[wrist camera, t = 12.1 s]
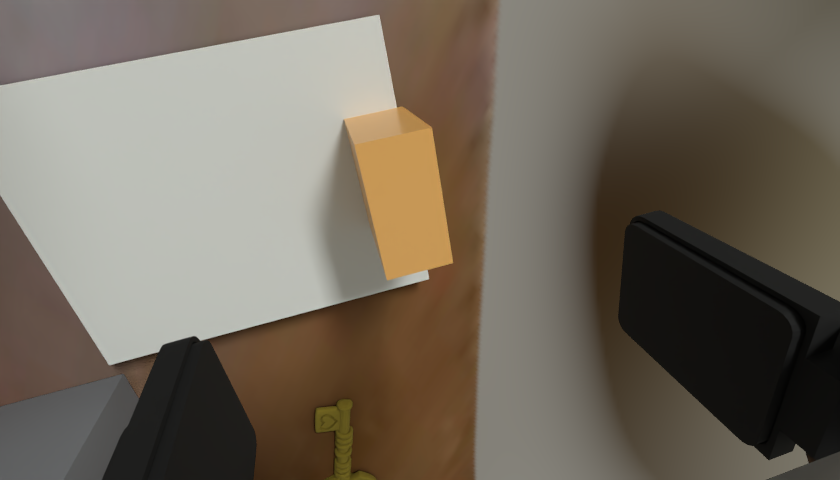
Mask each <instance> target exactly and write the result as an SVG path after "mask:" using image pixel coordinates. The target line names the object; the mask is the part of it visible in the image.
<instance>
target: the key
mask: <svg viewBox="0 0 840 480" xmlns="http://www.w3.org/2000/svg"><path fill="white" fill-rule="evenodd" d="M336 405H337V406H331V407H320V408H316V411H315V430H316V433H319V432H328V431H335V434H336V435H335V439H336V440H335V445H336V448H335V455H336V456H337V457H336V458H335V459H334V468H335V469H334V475H332V476H330V477H328V478H326V479H325V480H377V479H376V478H375V477H374V476H372V475H371V474H368V473H366V472H363V471H357V472H356V473H351V460H352V459H351V456H350V455H351V453H352V447H351V446H352V443H353V439H352V438H353V428H352V426H350V409H351V408H352V406H353V403H352V401H351V400H350V399H342V400H339V401H338V402H337V404H336Z"/></svg>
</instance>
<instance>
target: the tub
mask: <svg viewBox="0 0 840 480" xmlns="http://www.w3.org/2000/svg"><path fill="white" fill-rule="evenodd" d="M138 400H139V398H138V397H137V395H136V393H135V392H134V390H133V389H132V387H131V385H130V384H129V382H128V380H127V379H126V377H125V375H124V374H121V375H117V376H114V377H110V378H106V379H102V380H99V381H95V382H91V383H87V384H83V385H80V386H76V387H72V388H68V389H65V390H61V391H57V392H53V393H50V394H46V395H42V396H38V397H34V398H31V399H27V400H23V401H19V402H16V403H12V404H8V405H4V406H1V407H0V480H102V478H103V476H104V473H105V471H106V469H107V466H108V464H109V462H110V459H111V457H112V455H113V452H114V450H115V448H116V445H117V443H118V441H119V438H120V436H121V434H122V433H123V431H124V429H125V428H126V427H127V426H128V424H129V422H130V419H131V417H132V415H133V412H134V410H135V408H136V405H137V403H138Z"/></svg>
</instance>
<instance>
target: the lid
mask: <svg viewBox="0 0 840 480" xmlns="http://www.w3.org/2000/svg"><path fill="white" fill-rule="evenodd" d="M0 196H1V197H2V199H3V200H4V202H5V203H6V205H7V207H8V208H9V210H10V211H11V213H12V214H13V216H14V217H15V219H16V221H17V222H18V224H19V225H20V227H21V228H22V230H23V231H24V233H25V235H26V236H27V238H28V239H29V241H30V242H31V244H32V246H33V247H34V249H35V250H36V252H37V253H38V255H39V256H40V258H41V260H42V261H43V263H44V264H45V266H46V267H47V269H48V271H49V272H50V274H51V275H52V277H53V278H54V280H55V281H56V283H57V285H58V286H59V288H60V289H61V291H62V292H63V294H64V295H65V297H66V299H67V300H68V302H69V303H70V305H71V306H72V308H73V310H74V311H75V313H76V314H77V316H78V317H79V319H80V320H81V322H82V324H83V325H84V327H85V328H86V330H87V331H88V333H89V334H90V336H91V338H92V339H93V341H94V342H95V344H96V345H97V347H98V349H99V350H100V352H101V353H102V355H103V356H104V358H105V359H106V361H107V363H108V364H109V365H112V364H116V363H119V362H123V361H127V360H131V359H134V358H138V357H142V356H145V355H149V354H153V353H157V352H159V351H160V348H161V347H162V345H164V344H166V343H170V342H173V341H177V340H181V339H184V338H188V337H192V336H196V337H197V338H198V339H199V340H200V341H201V340H205V339H209V338H212V337H216V336H220V335H223V334H227V333H231V332H235V331H238V330H242V329H246V328H249V327H253V326H257V325H261V324H264V323H268V322H272V321H275V320H279V319H283V318H287V317H290V316H294V315H298V314H301V313H305V312H309V311H313V310H316V309H320V308H324V307H327V306H331V305H335V304H339V303H342V302H346V301H350V300H353V299H357V298H361V297H364V296H368V295H372V294H376V293H379V292H383V291H387V290H390V289H394V288H398V287H402V286H405V285H409V284H413V283H416V282H420V281H424V280H428V279H429V276H428V270H429V269H432V268H436V267H440V266H444V265H447V264H451V263H453V260H452V253H451V247H450V240H449V234H448V228H447V221H446V215H445V209H444V202H443V196H442V189H441V183H440V177H439V170H438V164H437V158H436V151H435V145H434V139H433V132H432V127H430V126H429V125H428V124H426V123H425V122H423V121H422V120H421V119H419V118H418V117H416V116H415V115H414V114H412V113H411V112H409V111H408V110H407V109H405V108H404V107H398V108H397V106H396V101H395V96H394V90H393V85H392V80H391V75H390V69H389V64H388V59H387V53H386V48H385V43H384V38H383V32H382V27H381V22H380V16H379V15H375V16H370V17H365V18H359V19H354V20H349V21H343V22H338V23H333V24H327V25H322V26H317V27H311V28H306V29H300V30H295V31H290V32H284V33H279V34H274V35H268V36H263V37H258V38H252V39H247V40H242V41H236V42H231V43H226V44H220V45H215V46H209V47H204V48H199V49H193V50H188V51H183V52H177V53H172V54H167V55H161V56H156V57H151V58H145V59H140V60H134V61H129V62H124V63H118V64H113V65H108V66H102V67H97V68H92V69H86V70H81V71H76V72H70V73H65V74H60V75H54V76H49V77H43V78H38V79H33V80H27V81H22V82H17V83H11V84H6V85H1V86H0Z"/></svg>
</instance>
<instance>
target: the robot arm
mask: <svg viewBox="0 0 840 480" xmlns="http://www.w3.org/2000/svg"><path fill="white" fill-rule="evenodd" d="M618 318H619V323H620V325H621V327H622V329H623V330H624V331H625V332H626V333H627V334H628V335H629V336H630V337H631V338H632V339H633V340H634V341H635V342H636V343H637V344H638V345H639V346H641V347H642V348H643V349H644V350H645V351H646V352H647V353H648V354H649V355H650V356H651V357H653V359H654V360H655V361H657V362H658V363H659V364H660V365H661V366H662V367H663V368H664V369H665V370H666V371H667V372H668V373H669V374H670V375H671V376H673V377H674V378H675V379H676V380H677V381H678V382H679V383H680V384H681V385H682V386H683V387H684V388H685V389H686V390H687V391H688V392H690V393H691V394H692V395H693V396H694V397H695V398H696V399H697V400H698V401H699V402H700V403H701V404H702V405H703V406H704V407H706V408H707V409H708V410H709V411H710V412H711V413H712V414H713V415H714V416H715V417H716V418H717V419H718V420H719V421H720V422H722V423H723V424H724V425H725V426H726V427H727V428H728V429H729V430H730V431H731V432H732V433H733V434H734V435H735V436H736V437H738V438H739V439H740V440H741V441H742V442H744V443H746V444H747V445H751V446H754V447H755V448H756V449H758V450H759V452H761V453H762V454H763V455H764V456H765V457H766V458H767V459H768V460H770V459H773V458H776V457H778V456H781V455H784V454H786V453H789V452H791V451H793V449H794V446H795V444H797V445H799V446H800V447H801V448H802V449H803V450H804V451H806V456H807V459H808V462H809V464H806V465H804V466H801V467H798V468H795V469H793V470H790V471H788V472H785V473H783V474H780V475H777V476H775V477H772V478H769V479H767V480H840V302H839V301H837V300H835V299H833V298H831V297H829V296H827V295H825V294H824V293H822V292H820V291H818V290H816V289H814V288H812V287H810V286H808V285H806V284H804V283H802V282H800V281H798V280H796V279H794V278H792V277H790V276H788V275H786V274H784V273H782V272H781V271H779V270H777V269H775V268H773V267H771V266H769V265H767V264H765V263H763V262H761V261H759V260H757V259H755V258H753V257H751V256H749V255H747V254H745V253H743V252H741V251H739V250H737V249H736V248H734V247H732V246H730V245H728V244H726V243H724V242H722V241H720V240H718V239H716V238H714V237H712V236H710V235H708V234H706V233H704V232H702V231H700V230H698V229H696V228H694V227H692V226H691V225H689V224H687V223H685V222H683V221H681V220H679V219H677V218H675V217H673V216H671V215H669V214H667V213H665V212H662V211H654V212H650V213H647V214H643V215H639V216H636V217H634V218H633V219H632V220H631V222H630V225H628V226H627V227H626V230H625V239H624V252H623V265H622V277H621V289H620V302H619V314H618ZM255 457H256V436H255V432H254V429H253V427H252V425H251V423H250V421H249V419H248V417H247V415H246V413H245V411H244V409H243V407H242V405H241V403H240V401H239V399H238V397H237V395H236V393H235V391H234V389H233V387H232V385H231V383H230V381H229V379H228V377H227V375H226V373H225V371H224V369H223V367H222V365H221V363H220V361H219V359H218V357H217V355H216V353H215V351H214V349H213V347H212V345H211V343H210V342H209V341H208V340H205V341H200V340H199V339H198V338H197V337H196V336H192V337H188V338H184V339H181V340H177V341H173V342H170V343H166V344H164V345H162V347H161V348H160V351H159V353H158V355H157V358H156V360H155V362H154V365H153V367H152V370H151V372H150V374H149V377H148V379H147V381H146V384H145V386H144V389H143V391H142V393H141V396H140V398H139V400H138V403H137V405H136V408H135V410H134V412H133V415H132V417H131V419H130V422H129V424H128V426H127V427H126V428H125V429H124V431H123V433H122V434H121V436H120V438H119V441H118V443H117V445H116V448H115V450H114V452H113V455H112V457H111V459H110V462H109V464H108V466H107V469H106V471H105V473H104V476H103V478H102V480H253V477H254V467H255Z"/></svg>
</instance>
